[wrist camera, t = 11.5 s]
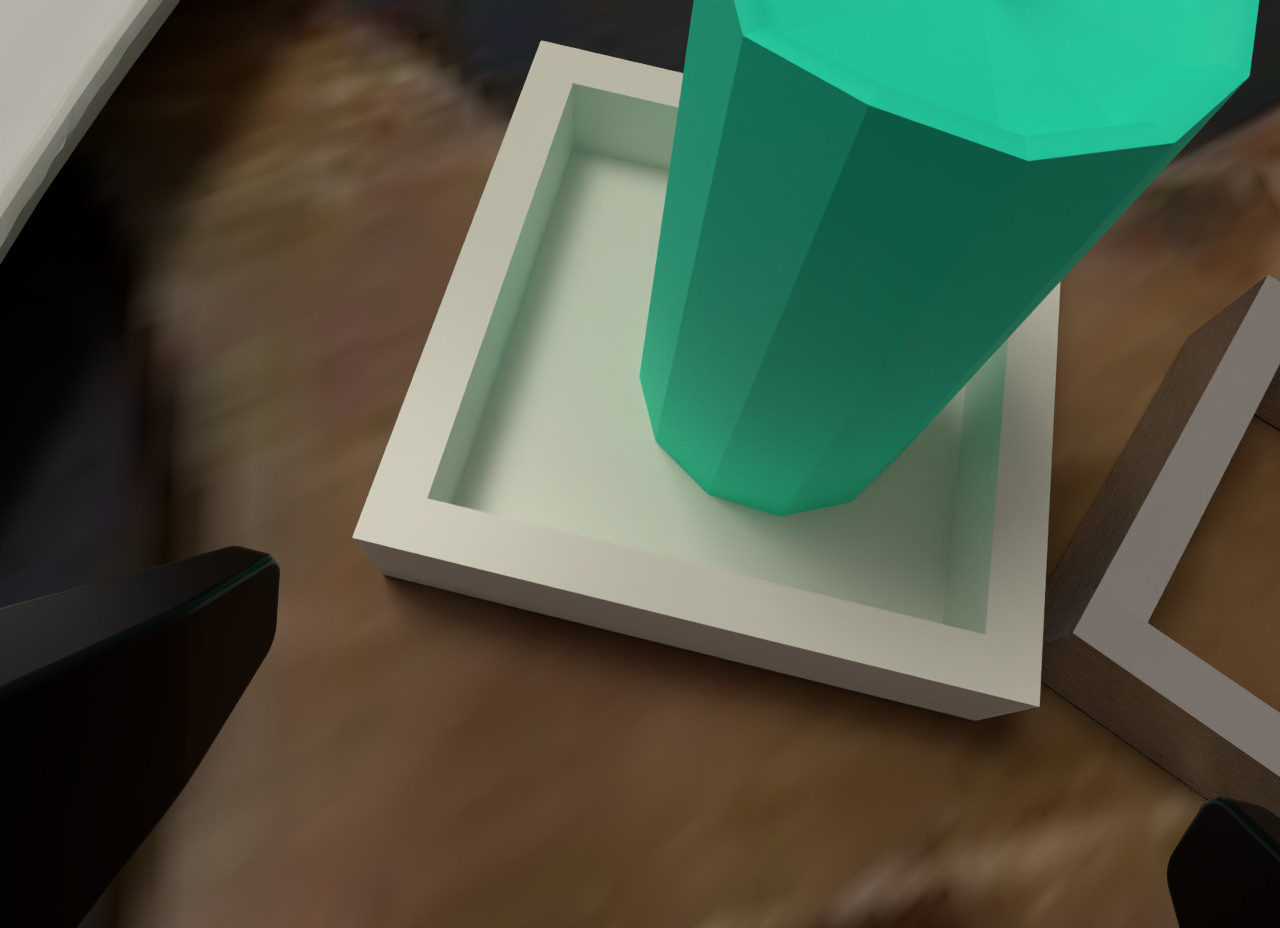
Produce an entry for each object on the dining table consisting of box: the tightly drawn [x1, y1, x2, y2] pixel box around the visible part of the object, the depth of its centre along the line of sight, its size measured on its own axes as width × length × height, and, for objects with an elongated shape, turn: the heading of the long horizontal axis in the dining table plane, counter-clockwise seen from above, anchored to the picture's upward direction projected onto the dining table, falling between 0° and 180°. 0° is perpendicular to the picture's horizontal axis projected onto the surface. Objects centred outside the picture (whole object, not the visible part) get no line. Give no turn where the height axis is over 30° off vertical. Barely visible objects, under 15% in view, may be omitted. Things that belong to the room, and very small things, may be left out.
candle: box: [639, 0, 1259, 517], centre depth 13 cm, size 6×6×12 cm
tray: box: [352, 41, 1060, 721], centre depth 18 cm, size 12×12×2 cm
